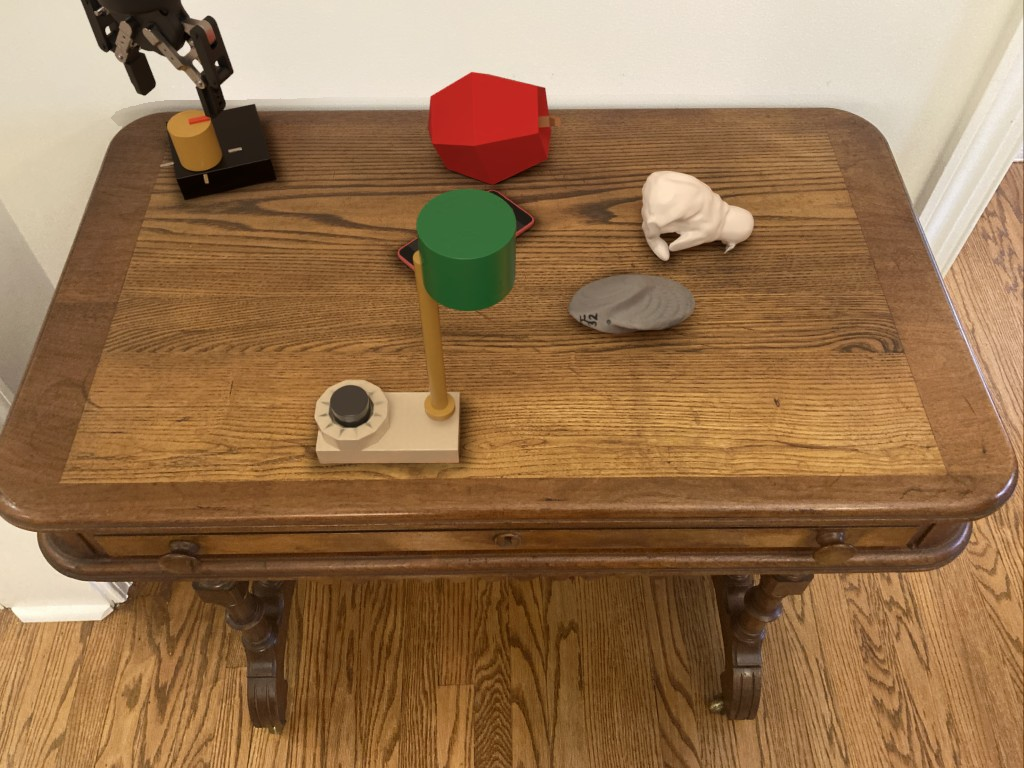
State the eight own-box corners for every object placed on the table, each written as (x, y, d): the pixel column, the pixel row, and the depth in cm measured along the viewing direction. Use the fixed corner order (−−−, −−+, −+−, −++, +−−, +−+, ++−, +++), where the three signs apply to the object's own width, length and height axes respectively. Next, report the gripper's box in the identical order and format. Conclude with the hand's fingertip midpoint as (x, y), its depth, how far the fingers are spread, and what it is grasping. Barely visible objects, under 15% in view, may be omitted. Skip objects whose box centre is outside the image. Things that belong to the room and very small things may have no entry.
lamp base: (319, 464, 74) (310, 440, 70) (327, 405, 77) (319, 379, 74) (459, 463, 74) (456, 439, 71) (460, 405, 77) (458, 379, 74)
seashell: (675, 373, 79) (710, 290, 84) (673, 339, 75) (710, 253, 79) (562, 342, 84) (600, 264, 88) (552, 308, 79) (593, 228, 83)
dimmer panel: (174, 214, 91) (164, 191, 89) (162, 145, 98) (152, 123, 95) (280, 190, 93) (273, 167, 91) (261, 125, 100) (254, 102, 97)
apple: (449, 129, 101) (574, 116, 98) (434, 205, 95) (568, 193, 92) (419, 43, 92) (557, 25, 88) (400, 121, 85) (548, 105, 82)
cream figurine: (646, 154, 84) (765, 165, 85) (628, 217, 91) (738, 228, 92) (651, 198, 80) (775, 210, 81) (631, 261, 87) (746, 271, 88)
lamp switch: (331, 427, 72) (327, 416, 70) (335, 396, 73) (331, 384, 72) (369, 427, 72) (366, 416, 70) (372, 396, 73) (369, 384, 72)
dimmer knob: (183, 175, 90) (168, 138, 86) (178, 149, 93) (163, 112, 89) (225, 166, 91) (212, 129, 87) (219, 140, 94) (206, 103, 90)
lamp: (422, 441, 70) (395, 259, 53) (426, 378, 74) (402, 188, 57) (513, 440, 70) (517, 259, 53) (513, 377, 74) (515, 188, 57)
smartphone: (393, 251, 87) (492, 186, 93) (393, 255, 88) (492, 190, 93) (438, 288, 84) (538, 219, 90) (438, 292, 85) (538, 223, 91)
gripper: (217, -60, 73) (261, 100, 86) (86, -97, 77) (148, 63, 90) (161, -17, 69) (216, 144, 83) (26, -57, 73) (100, 103, 86)
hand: (181, 101), depth 86 cm, fingers open, 8 cm apart
